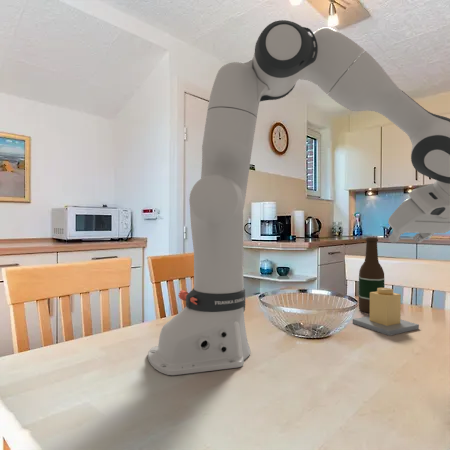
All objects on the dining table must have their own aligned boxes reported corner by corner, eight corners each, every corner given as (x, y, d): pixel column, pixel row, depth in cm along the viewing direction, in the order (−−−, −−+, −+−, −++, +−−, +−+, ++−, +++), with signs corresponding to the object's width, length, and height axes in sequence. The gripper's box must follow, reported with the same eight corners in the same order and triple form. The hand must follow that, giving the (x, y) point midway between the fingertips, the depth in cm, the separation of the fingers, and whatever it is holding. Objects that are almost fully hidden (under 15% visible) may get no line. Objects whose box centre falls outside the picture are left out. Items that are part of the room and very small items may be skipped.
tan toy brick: (386, 325, 94) (387, 291, 94) (369, 320, 99) (369, 288, 99) (400, 323, 97) (400, 289, 96) (382, 317, 102) (383, 286, 101)
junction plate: (389, 335, 90) (389, 319, 90) (352, 323, 100) (352, 308, 100) (418, 328, 95) (419, 313, 95) (381, 317, 106) (381, 304, 106)
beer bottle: (385, 309, 115) (386, 237, 115) (382, 315, 109) (383, 238, 108) (360, 306, 119) (361, 236, 119) (356, 311, 113) (356, 237, 112)
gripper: (461, 194, 86) (422, 231, 95) (408, 188, 77) (369, 230, 86) (480, 212, 83) (437, 249, 91) (426, 208, 73) (384, 250, 82)
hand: (404, 240), depth 89 cm, fingers open, 8 cm apart
